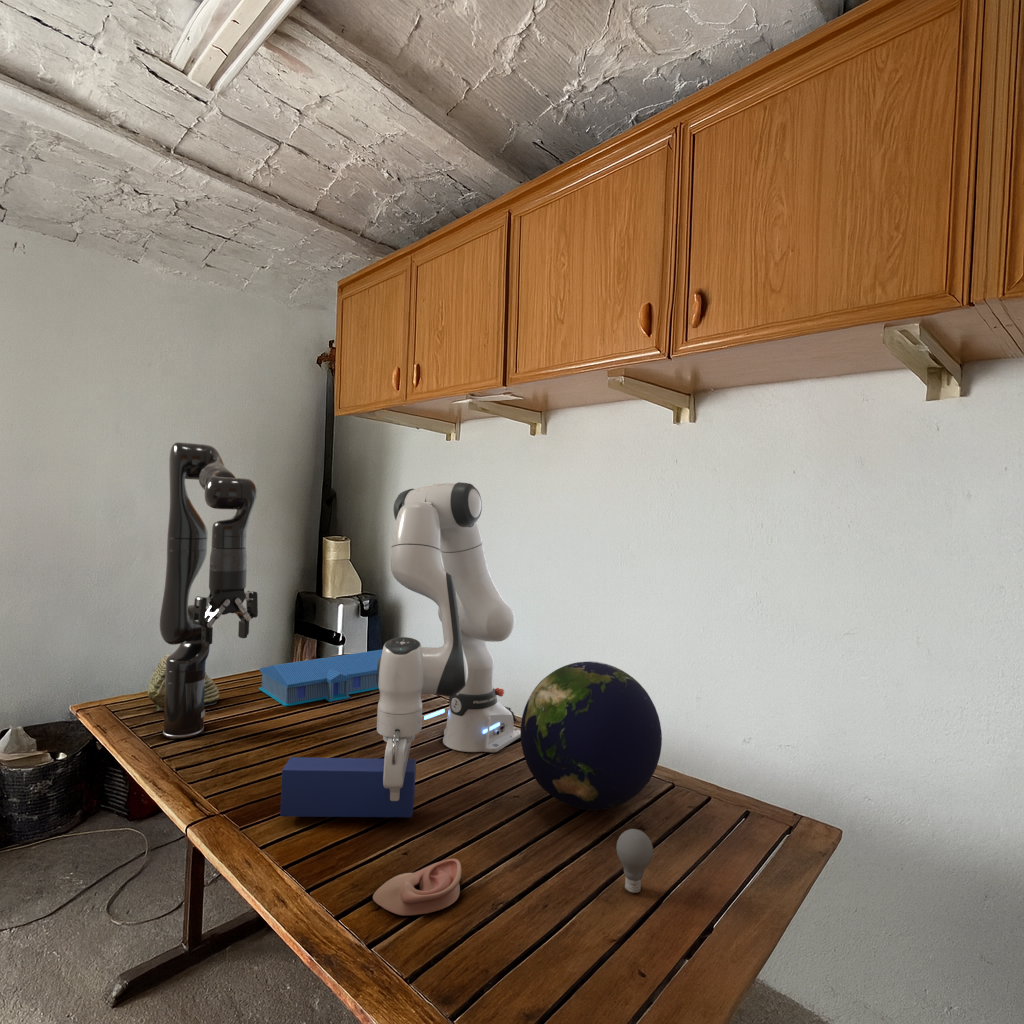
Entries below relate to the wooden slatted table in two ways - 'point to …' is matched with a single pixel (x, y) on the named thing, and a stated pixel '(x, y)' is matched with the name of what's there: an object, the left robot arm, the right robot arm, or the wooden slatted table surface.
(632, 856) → the light bulb
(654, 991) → the wooden slatted table surface
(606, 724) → the globe
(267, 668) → the model building
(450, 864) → the anatomical model
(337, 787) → the box
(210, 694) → the fossil
